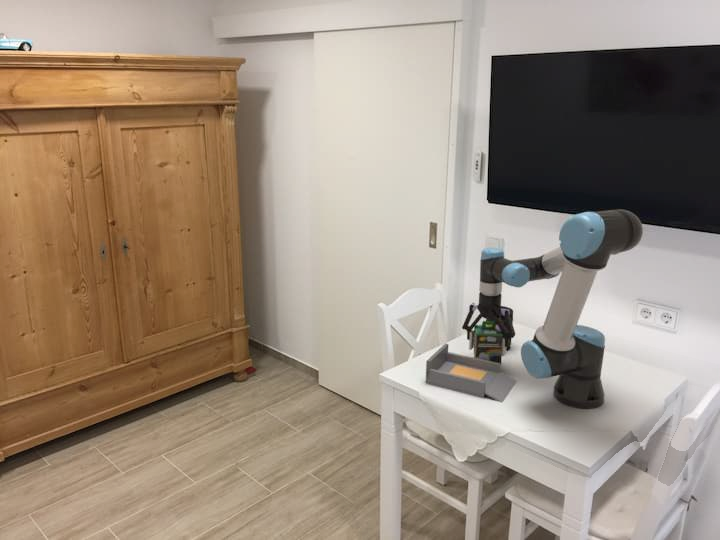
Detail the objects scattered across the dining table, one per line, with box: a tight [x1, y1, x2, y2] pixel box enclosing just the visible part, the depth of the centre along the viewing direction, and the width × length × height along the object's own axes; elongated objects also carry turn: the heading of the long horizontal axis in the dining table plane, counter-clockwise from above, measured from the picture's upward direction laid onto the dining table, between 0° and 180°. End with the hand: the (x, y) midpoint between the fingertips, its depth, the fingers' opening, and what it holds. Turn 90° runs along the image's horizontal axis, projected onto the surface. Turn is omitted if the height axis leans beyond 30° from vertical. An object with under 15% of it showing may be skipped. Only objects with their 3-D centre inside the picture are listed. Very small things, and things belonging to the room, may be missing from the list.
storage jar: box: [485, 305, 514, 352], centre depth 223 cm, size 10×10×15 cm
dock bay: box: [425, 343, 518, 403], centre depth 197 cm, size 26×16×8 cm, turn 60°
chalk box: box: [473, 320, 503, 366], centre depth 207 cm, size 9×9×15 cm
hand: (487, 351), depth 208 cm, fingers closed on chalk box, 11 cm apart
